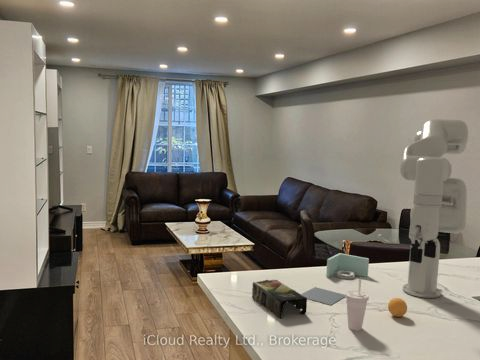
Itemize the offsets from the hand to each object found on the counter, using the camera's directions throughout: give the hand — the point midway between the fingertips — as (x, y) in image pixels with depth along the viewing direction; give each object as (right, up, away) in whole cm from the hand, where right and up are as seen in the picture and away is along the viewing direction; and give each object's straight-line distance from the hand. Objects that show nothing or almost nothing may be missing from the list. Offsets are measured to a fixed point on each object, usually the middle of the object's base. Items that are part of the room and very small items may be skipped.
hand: (422, 259), depth 135 cm
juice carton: (-41, -17, +12) cm, 46 cm away
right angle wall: (-12, -15, +44) cm, 48 cm away
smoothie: (-21, -19, -4) cm, 28 cm away
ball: (-5, -15, +6) cm, 17 cm away
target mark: (-25, -16, +21) cm, 37 cm away
